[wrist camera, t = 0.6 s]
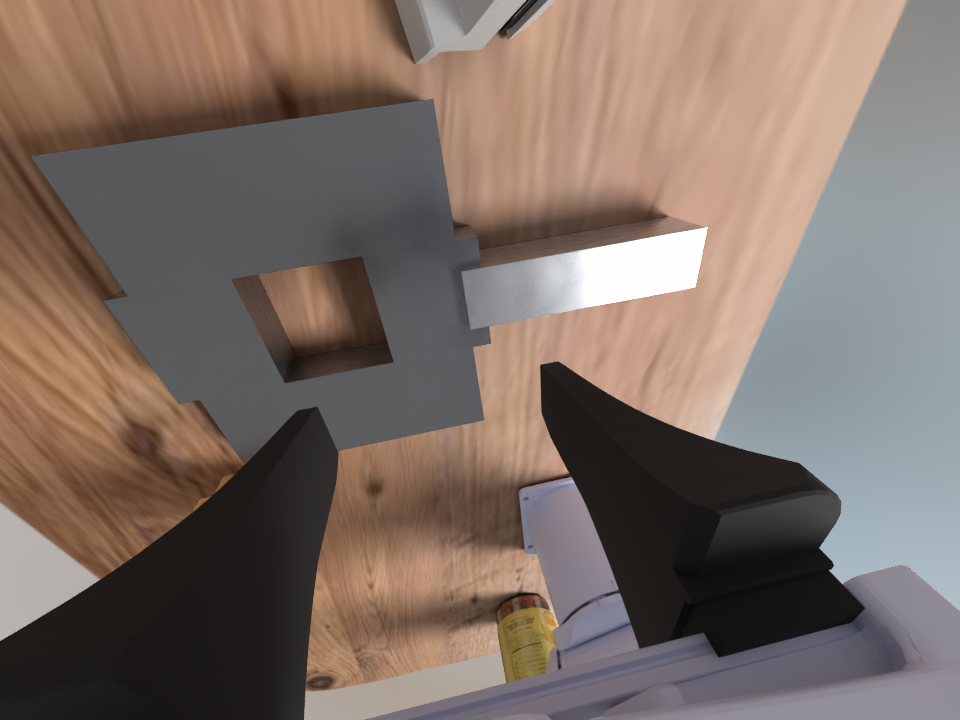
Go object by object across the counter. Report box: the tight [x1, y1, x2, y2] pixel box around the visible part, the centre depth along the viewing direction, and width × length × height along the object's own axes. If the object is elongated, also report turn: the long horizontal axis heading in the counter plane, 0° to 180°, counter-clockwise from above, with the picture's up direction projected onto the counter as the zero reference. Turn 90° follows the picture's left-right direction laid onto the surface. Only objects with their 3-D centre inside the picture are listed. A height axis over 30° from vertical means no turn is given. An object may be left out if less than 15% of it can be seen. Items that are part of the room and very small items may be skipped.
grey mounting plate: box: [31, 99, 707, 465], centre depth 19 cm, size 16×27×3 cm, turn 97°
